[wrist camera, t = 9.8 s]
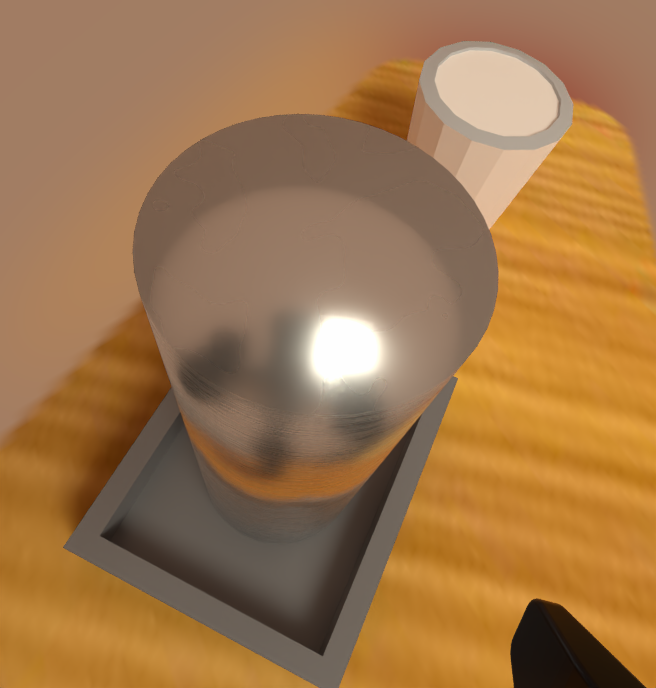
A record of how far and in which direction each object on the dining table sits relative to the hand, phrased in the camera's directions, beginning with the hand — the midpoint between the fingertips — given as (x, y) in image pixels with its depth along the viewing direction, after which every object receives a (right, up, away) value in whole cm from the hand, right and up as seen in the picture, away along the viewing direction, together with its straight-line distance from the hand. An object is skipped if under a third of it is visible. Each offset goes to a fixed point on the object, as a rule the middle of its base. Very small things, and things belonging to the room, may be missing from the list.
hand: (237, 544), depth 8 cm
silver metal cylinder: (0, -2, +13) cm, 13 cm away
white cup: (+8, +11, +21) cm, 25 cm away
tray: (-1, -2, +14) cm, 14 cm away
